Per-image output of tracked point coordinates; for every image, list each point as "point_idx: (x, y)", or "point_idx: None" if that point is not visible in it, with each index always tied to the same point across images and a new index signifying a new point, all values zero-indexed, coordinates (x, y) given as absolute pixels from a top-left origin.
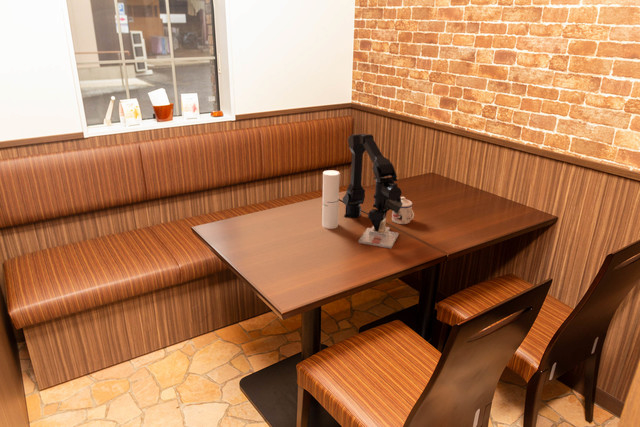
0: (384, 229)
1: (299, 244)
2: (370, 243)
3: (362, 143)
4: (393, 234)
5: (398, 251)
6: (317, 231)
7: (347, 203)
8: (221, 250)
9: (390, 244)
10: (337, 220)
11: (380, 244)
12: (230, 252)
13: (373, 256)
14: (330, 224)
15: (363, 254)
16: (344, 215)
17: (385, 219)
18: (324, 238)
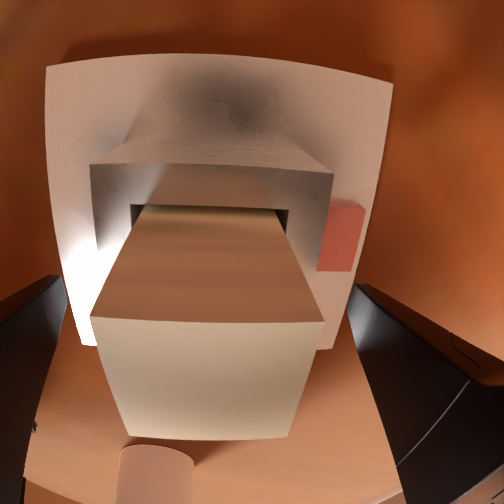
0: (190, 215)
1: (362, 463)
2: (352, 268)
3: None
4: (99, 101)
5: (411, 28)
6: (240, 472)
7: (24, 491)
8: (388, 497)
9: (357, 93)
10: (151, 475)
11: (375, 187)
12: (397, 490)
13: (488, 209)
14: (190, 476)
15: (467, 268)
16: (33, 432)
17: (145, 313)
18: (302, 447)
